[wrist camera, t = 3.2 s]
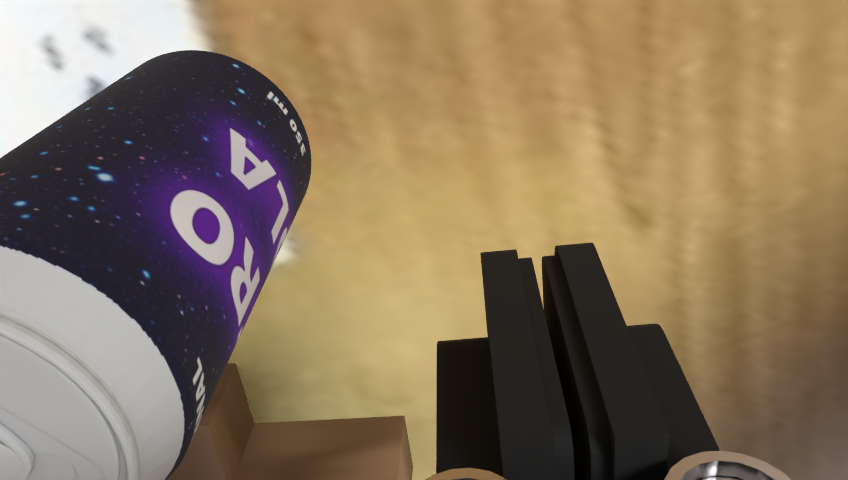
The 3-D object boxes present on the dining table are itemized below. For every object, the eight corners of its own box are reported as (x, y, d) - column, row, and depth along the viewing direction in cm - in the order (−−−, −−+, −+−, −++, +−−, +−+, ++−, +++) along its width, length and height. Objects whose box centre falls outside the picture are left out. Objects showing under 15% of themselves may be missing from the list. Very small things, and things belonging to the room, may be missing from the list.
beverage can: (223, 260, 22) (10, 624, 12) (80, 125, 20) (-328, 418, 10) (358, 157, 20) (246, 481, 10) (213, -3, 18) (-117, 190, 8)
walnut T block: (393, 354, 24) (385, 416, 21) (421, 516, 28) (416, 587, 25) (166, 367, 25) (130, 429, 22) (223, 524, 28) (198, 593, 26)
